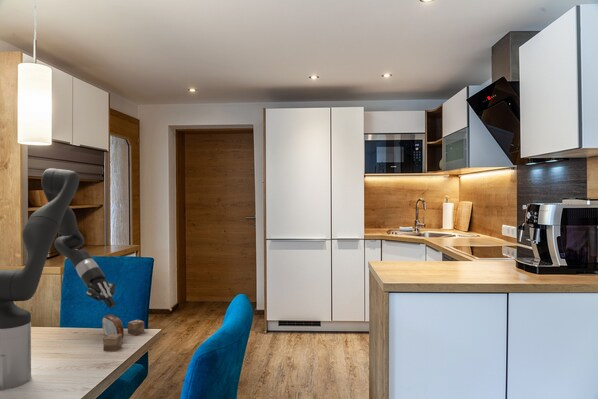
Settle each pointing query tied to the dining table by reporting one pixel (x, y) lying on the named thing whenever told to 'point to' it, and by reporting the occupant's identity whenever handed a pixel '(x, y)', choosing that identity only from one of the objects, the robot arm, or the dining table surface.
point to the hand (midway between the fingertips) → (112, 306)
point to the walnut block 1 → (112, 342)
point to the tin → (112, 325)
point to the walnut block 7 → (136, 327)
